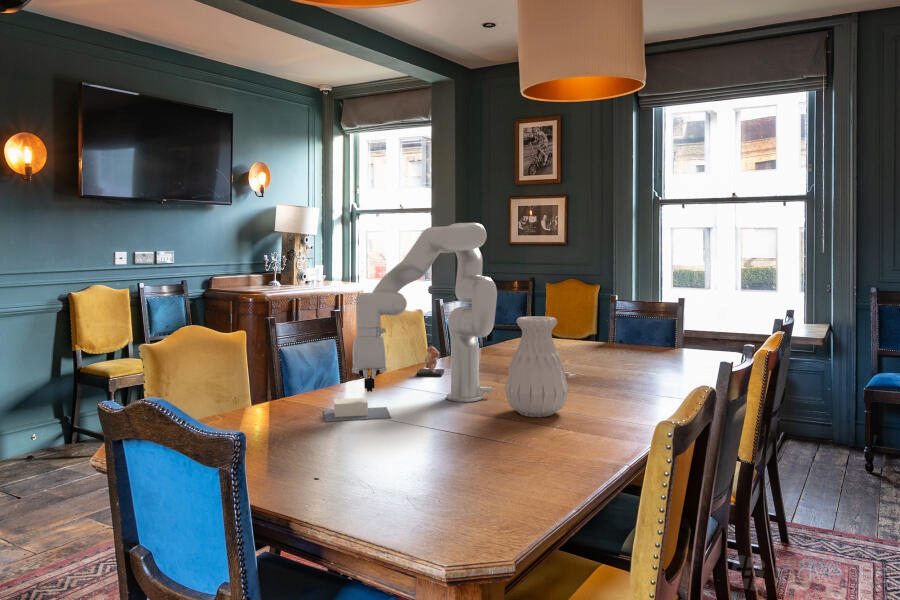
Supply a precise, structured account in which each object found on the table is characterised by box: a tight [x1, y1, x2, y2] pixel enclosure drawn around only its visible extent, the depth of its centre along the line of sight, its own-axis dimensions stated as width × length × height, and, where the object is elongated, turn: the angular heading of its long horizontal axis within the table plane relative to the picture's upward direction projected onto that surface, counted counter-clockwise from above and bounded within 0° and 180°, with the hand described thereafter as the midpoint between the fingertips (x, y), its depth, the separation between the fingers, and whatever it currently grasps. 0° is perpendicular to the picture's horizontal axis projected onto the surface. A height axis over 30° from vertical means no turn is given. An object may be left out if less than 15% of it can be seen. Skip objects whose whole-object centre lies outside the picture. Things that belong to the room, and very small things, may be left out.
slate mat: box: [323, 406, 392, 423], centre depth 216 cm, size 20×14×1 cm
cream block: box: [333, 397, 369, 417], centre depth 216 cm, size 4×7×10 cm
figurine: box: [415, 344, 445, 378], centre depth 282 cm, size 10×10×12 cm
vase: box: [504, 315, 569, 418], centre depth 216 cm, size 20×20×30 cm
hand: (369, 390), depth 217 cm, fingers closed
